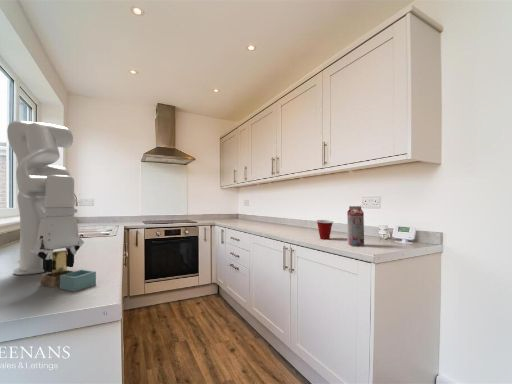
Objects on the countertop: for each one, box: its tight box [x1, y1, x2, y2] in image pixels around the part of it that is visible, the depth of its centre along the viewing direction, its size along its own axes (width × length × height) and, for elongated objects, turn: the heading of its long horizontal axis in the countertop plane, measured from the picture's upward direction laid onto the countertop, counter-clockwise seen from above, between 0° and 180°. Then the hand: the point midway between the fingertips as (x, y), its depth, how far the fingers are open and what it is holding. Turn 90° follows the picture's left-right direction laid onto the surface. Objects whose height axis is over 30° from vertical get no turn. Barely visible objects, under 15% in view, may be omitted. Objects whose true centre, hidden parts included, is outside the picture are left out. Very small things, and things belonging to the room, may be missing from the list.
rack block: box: [59, 269, 97, 292], centre depth 78 cm, size 7×7×4 cm
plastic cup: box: [316, 219, 334, 240], centre depth 166 cm, size 11×11×12 cm
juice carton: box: [346, 205, 365, 247], centre depth 143 cm, size 7×7×22 cm
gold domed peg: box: [50, 249, 68, 277], centre depth 82 cm, size 4×4×10 cm
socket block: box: [40, 269, 75, 288], centre depth 82 cm, size 7×7×3 cm
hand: (59, 268), depth 82 cm, fingers open, 5 cm apart
